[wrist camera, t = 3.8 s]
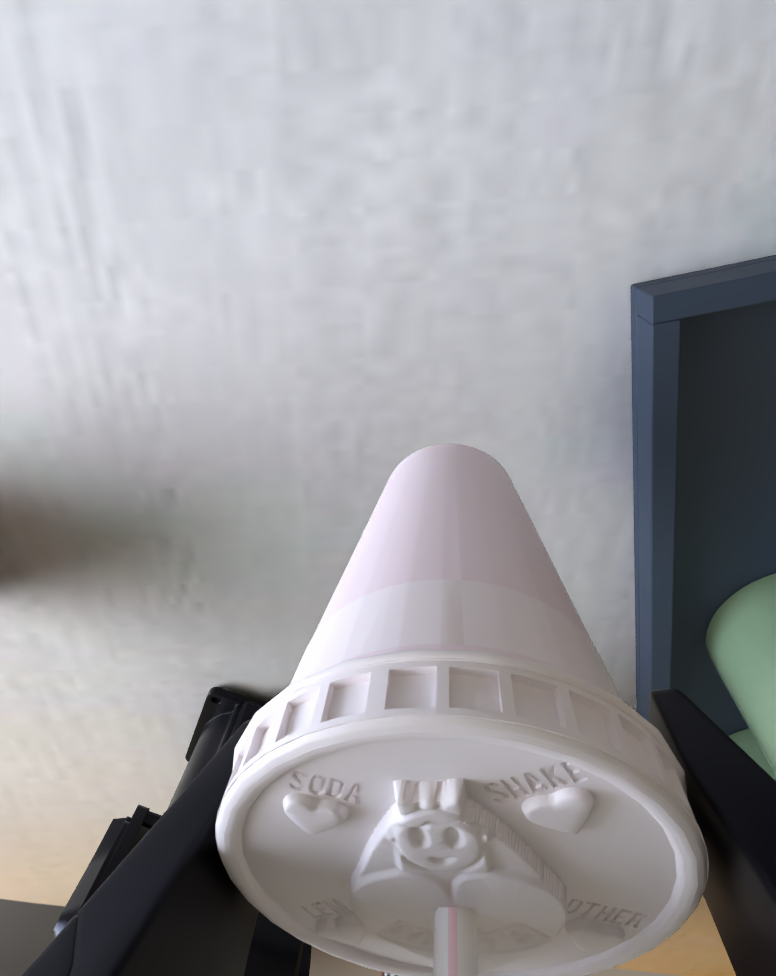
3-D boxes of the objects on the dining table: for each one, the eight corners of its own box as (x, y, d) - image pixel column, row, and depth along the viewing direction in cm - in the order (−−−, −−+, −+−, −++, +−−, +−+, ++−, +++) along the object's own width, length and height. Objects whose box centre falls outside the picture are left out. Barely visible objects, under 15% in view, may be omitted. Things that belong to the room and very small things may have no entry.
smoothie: (363, 598, 17) (168, 1548, 5) (313, 413, 14) (-394, 1609, 2) (569, 580, 16) (921, 1734, 4) (560, 376, 13) (1691, 2311, 1)
